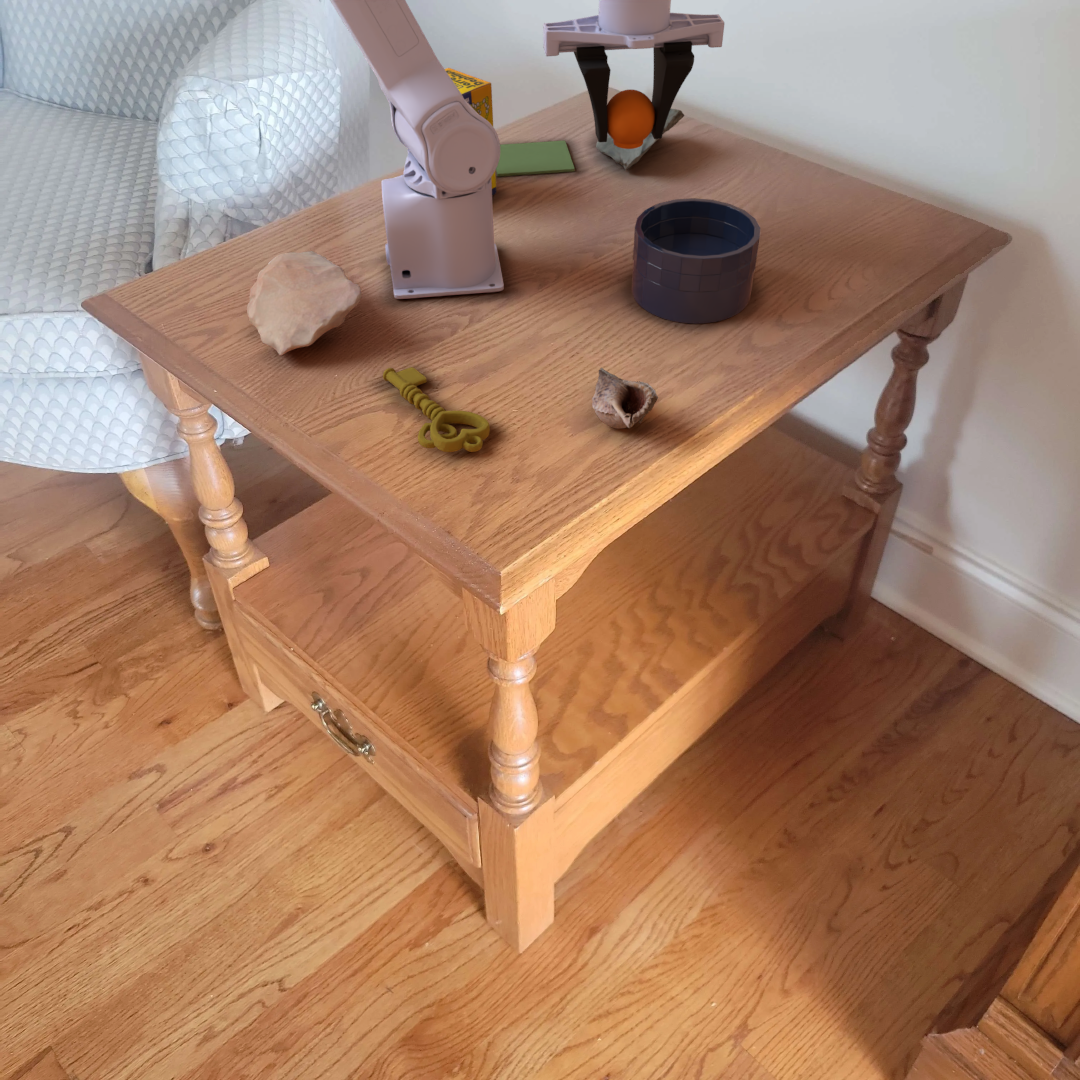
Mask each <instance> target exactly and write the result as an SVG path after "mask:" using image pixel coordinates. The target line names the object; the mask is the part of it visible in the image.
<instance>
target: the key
mask: <svg viewBox="0 0 1080 1080" xmlns="http://www.w3.org/2000/svg"><path fill="white" fill-rule="evenodd" d="M382 379H383V380H384V381H385V382H389V383H390V384H391V385H393V386H394V387H395V388H396V389H397V390H399V394H400V397H402V398H404V400H405V401H407V402H408V403H409V404H410V405H414V407H415V409H416V410H419V411H421V412H422V414H423V415H424V416H425V417H427V419H429V420H431V422H424V424H423V425H422V426H421V428H420V429H419V431H418V434H417V442H418V444H419V445H420V446H421V447H423V448H425V449H435V448H436V449H437V450H439V451H441V452H443V453H455V452H459V451H460V450H462V449H464V450H465V451H467V452H471V453H476V452H478V451H480V450H482V448H483V444H484V442H483V441H484V440H486V439H487V438H488V437H489V436H490V432H491V424H490V422H489V421H488V419H486V418H485V417H483V416H482V415H480V414H478V413H475V412H472V411H467V410H446V409H445V408H444V407H442V406H441V405H440V404H439V403H437V402H436V401H435V400H432V399H431V398H430V396H429V395H428V394H425V393H423V391H422V389H420V388H419V387H418V386H420V385H423V384H426V383H427V377H426V376H425V375H424V374H422V373H421V372H420V371H419V370H418V369H416V368H415V367H413V366H410V367H407V368H405V369H402V370H398V371H396V369H395V368H394V367H393V368H392V367H388V368H386V369H385V370H383V373H382ZM430 399H431V400H430ZM451 424H461V425H462V424H463V425H466V426H471V427H474V428H461V430H460V433H458V431H457V428H455V426H453V425H451ZM428 432H429V436H430V439H427V438H426V434H427V433H428ZM439 432H443V433H439Z"/></svg>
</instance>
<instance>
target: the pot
mask: <svg viewBox="0 0 1080 1080" xmlns="http://www.w3.org/2000/svg"><path fill="white" fill-rule="evenodd" d="M761 229H762V228H761V226H760V224H759V223H758V221H757V219H756V217H754V215H752V214H751V213H749V212H748V211H746V210H745V209H743V208H741V207H738V206H736V205H734V204H731V203H728V202H724V201H720V200H715V199H709V198H697V197H695V198H694V197H693V198H692V197H691V198H689V197H688V198H677V199H671V200H666V201H662V202H658V203H656V204H654V205H652V206H650V207H647V208H646V209H644V211H642V212H641V213H640V214H639V215H638V217H636V220H635V225H634V233H633V234H634V235H633V250H632V251H633V252H632V260H633V261H632V279H631V293H632V297H633V298H634V301H635V302H636V303H637V304H638V305H639V306H640V307H641V308H642V309H643V310H644V311H646V312H647V313H649V314H651V315H653V316H655V317H658V318H659V319H663V320H666V321H671V322H674V323H681V324H683V323H684V324H691V325H692V324H694V325H697V324H710V323H711V324H712V323H716V322H721V321H724V320H728V319H731V318H733V317H734V316H736V315H738V314H740V313H741V312H742V311H743V310H744V309H745V308H746V307H747V306H748V304H749V303H750V300H751V294H752V289H753V282H754V276H755V270H756V265H757V258H758V252H759V247H760V246H759V245H760V239H761Z"/></svg>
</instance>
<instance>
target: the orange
mask: <svg viewBox="0 0 1080 1080" xmlns="http://www.w3.org/2000/svg"><path fill="white" fill-rule="evenodd" d="M654 123H655V110H654V106H653V104H652V99H650V98H649V97H648V95H646V94H645V93H644V92H642V91H640V90H637V89H624V90H621V91H619V92H617V93H616V94H614V95H613V96H612V97H611V98H610V100H609V101H607V124H608V134H609V135H610V136H611V138H612V139H613V143H614V145H616V146H617V147H620V148H624V149H633V148H638V147H640V146H641V145H642V144H643V140H644V139H645V138H646V137H647V136H648V135H649V134H650V133H651V131H652V129H653V126H654Z"/></svg>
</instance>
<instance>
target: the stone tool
mask: <svg viewBox="0 0 1080 1080" xmlns="http://www.w3.org/2000/svg"><path fill="white" fill-rule="evenodd" d="M362 295H363V291H362V288H361V286H360V285H359V284H357V283H355V282H353V281H352V280H350V279H349V278H348V277H347V276H346V273H345V270H344V269H343V267H341V266H339V265H338V264H335V263H333V261H331V260H330V259H327V257H326V256H324V255H322V254H319V253H317V252H316V251H313V250H308V251H303V252H294V251H292V252H285V253H281V254H277V255H276V256H274V257H273V258H272V259H271V260H270V261H269V262H268V264H266V266H265V267H263V268H262V269H261V270H259V272H258V274H257V279H256V281H255V282H254V283H253V285H252V286H251V287H250V289H249V302H248V303H247V305H246V314H247V316H248V321H249V323H250V325H252V327H255V328H256V330H257V333H258V334H259V337H260V341H261V342H262V344H263V345H266V346H268V347H271V348H272V349H274V350H275V351H276V352H277V354H278V355H279V356H283V355H285V354H287V353H288V352H291V351H293V350H296V349H299V348H304V347H310V346H311V345H313V344H314V343H315V342H316V341H317V340H318V339H320V337H322V336H323V335H324V334H326V333H327V332H328V331H331V330H332V329H334V328H338V327H340V326H341V325H343V324H344V323H345V319H346V316H347V315H348V314H350V313H351V311H352V310H353V309H354V308H356V307H357V305H358V304H359V303H360V301H361V299H362Z"/></svg>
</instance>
